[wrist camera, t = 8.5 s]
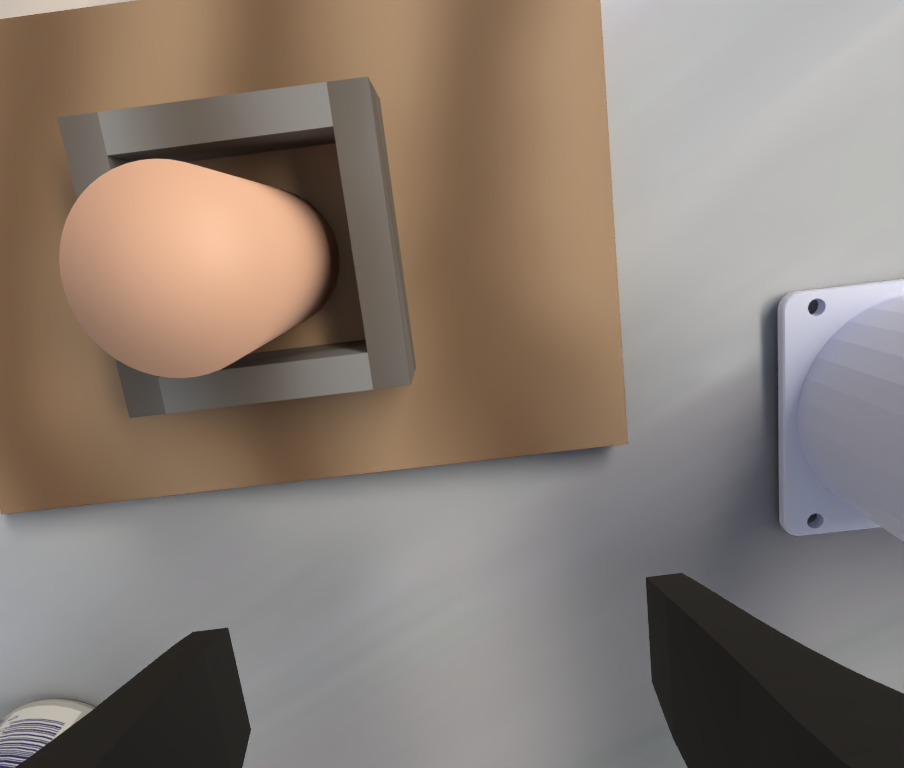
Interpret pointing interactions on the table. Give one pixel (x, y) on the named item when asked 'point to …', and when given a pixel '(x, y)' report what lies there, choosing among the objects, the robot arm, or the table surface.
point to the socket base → (354, 226)
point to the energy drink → (36, 727)
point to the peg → (192, 265)
